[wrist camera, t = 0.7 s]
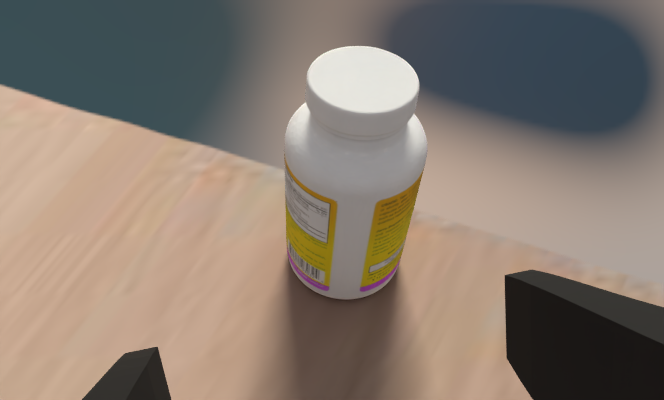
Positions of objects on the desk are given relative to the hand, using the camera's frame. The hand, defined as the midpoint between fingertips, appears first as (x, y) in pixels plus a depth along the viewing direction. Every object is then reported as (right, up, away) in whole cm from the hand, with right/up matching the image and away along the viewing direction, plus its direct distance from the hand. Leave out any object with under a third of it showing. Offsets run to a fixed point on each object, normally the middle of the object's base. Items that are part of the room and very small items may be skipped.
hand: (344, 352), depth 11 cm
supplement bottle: (0, 0, +21) cm, 21 cm away
